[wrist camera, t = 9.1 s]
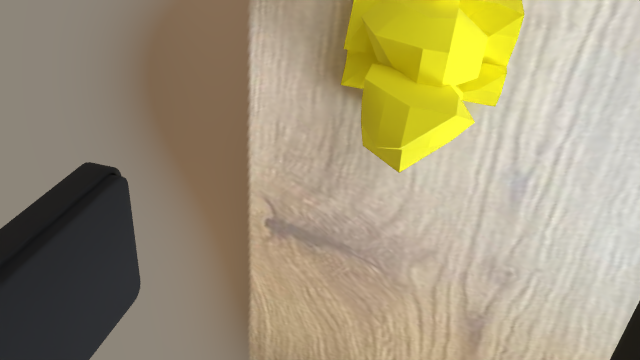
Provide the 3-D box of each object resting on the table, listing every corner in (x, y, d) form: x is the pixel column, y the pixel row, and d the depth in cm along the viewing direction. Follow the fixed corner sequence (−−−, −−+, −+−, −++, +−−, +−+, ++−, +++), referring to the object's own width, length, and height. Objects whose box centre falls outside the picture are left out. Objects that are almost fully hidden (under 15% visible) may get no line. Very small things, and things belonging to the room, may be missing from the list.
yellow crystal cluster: (538, -67, 19) (562, -18, 13) (481, 137, 24) (478, 249, 17) (371, -89, 20) (317, -53, 14) (346, 111, 25) (296, 208, 18)
